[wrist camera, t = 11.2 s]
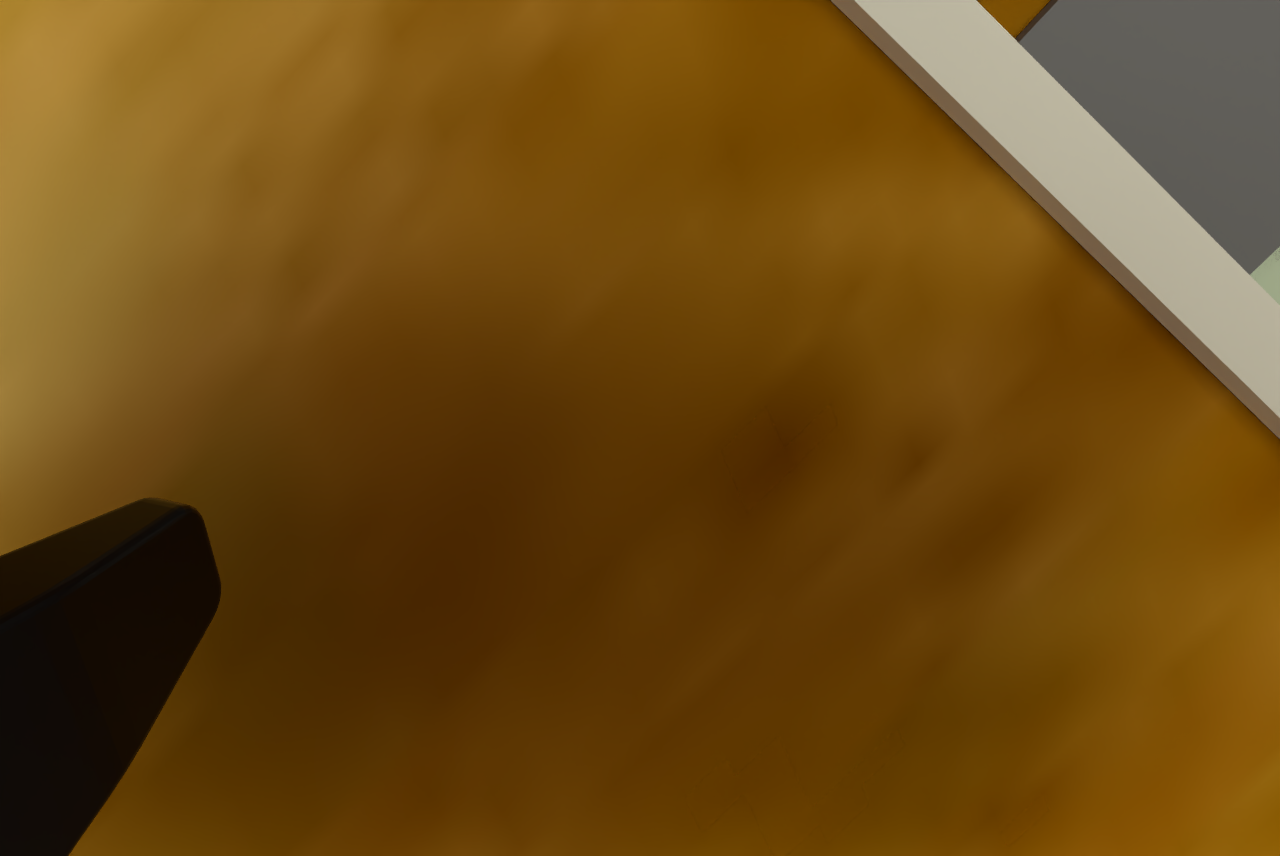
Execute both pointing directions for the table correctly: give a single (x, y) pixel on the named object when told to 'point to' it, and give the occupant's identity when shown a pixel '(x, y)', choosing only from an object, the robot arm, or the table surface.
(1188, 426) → the table surface
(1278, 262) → the pad
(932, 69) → the trap box
